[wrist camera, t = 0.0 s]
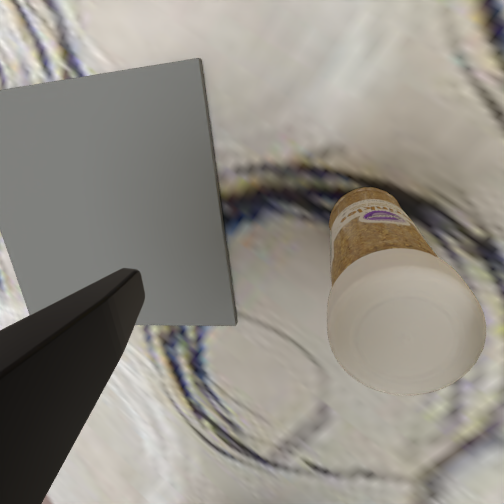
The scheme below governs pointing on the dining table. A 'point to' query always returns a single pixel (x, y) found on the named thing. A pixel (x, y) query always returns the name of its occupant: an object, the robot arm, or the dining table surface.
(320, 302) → the dining table surface
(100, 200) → the mat
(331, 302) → the sprinkles bottle
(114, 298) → the robot arm
